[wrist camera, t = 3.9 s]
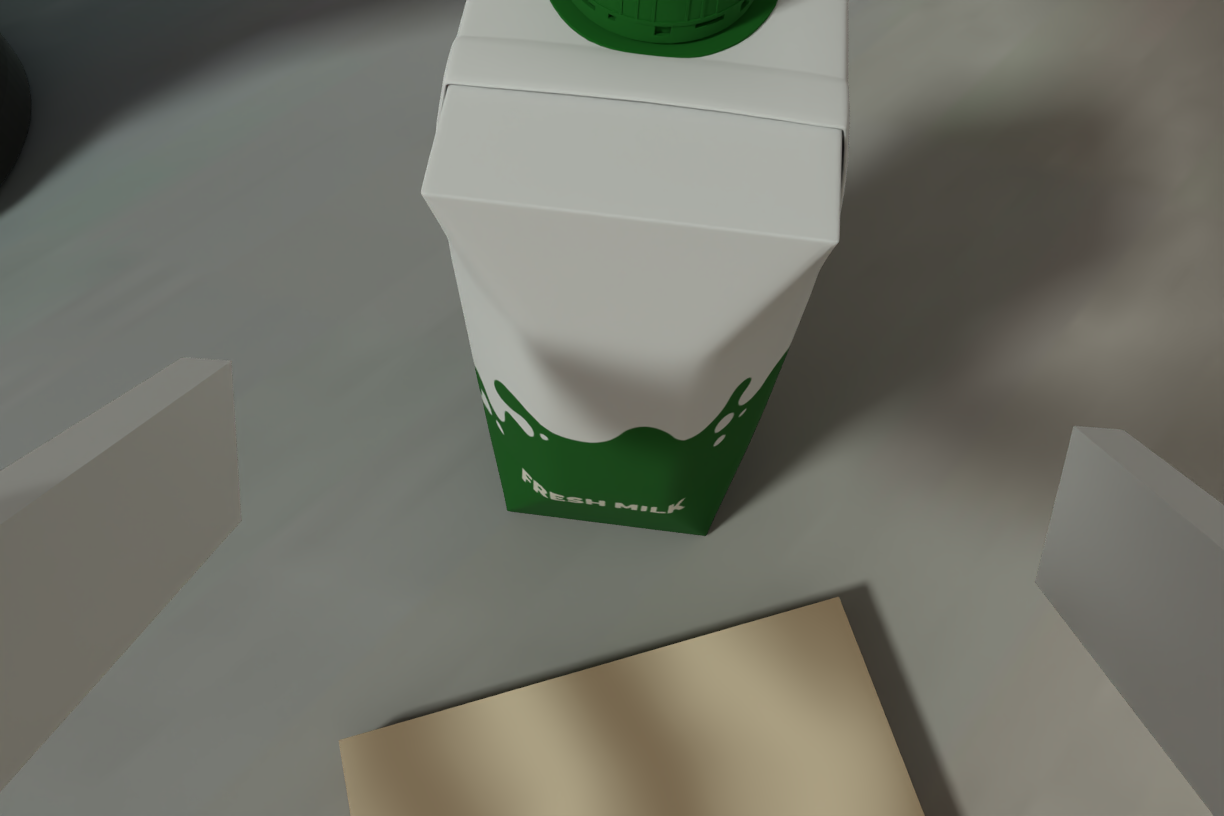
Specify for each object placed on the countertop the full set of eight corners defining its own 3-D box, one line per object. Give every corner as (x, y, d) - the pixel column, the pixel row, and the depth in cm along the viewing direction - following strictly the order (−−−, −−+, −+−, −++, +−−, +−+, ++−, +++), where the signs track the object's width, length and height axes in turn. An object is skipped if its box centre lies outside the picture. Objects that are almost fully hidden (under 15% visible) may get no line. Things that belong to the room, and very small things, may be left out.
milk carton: (746, 339, 37) (908, -174, 18) (730, 569, 33) (914, 205, 15) (517, 311, 37) (457, -222, 19) (474, 537, 33) (345, 139, 15)
